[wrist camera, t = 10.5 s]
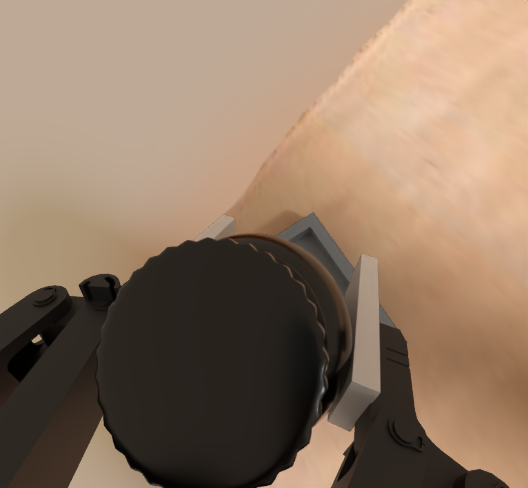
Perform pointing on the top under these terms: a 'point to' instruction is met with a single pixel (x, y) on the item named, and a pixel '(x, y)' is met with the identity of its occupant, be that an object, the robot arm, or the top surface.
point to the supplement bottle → (222, 361)
